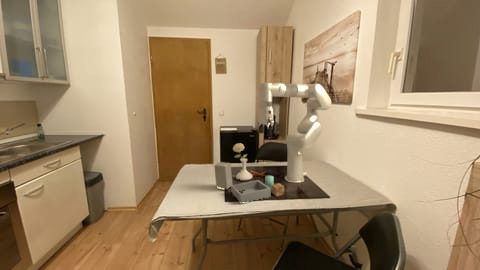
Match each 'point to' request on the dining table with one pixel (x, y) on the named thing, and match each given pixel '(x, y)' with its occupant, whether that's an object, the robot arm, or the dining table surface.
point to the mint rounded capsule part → (269, 181)
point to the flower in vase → (244, 173)
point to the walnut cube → (277, 189)
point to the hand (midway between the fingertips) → (265, 134)
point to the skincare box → (223, 175)
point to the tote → (251, 191)
